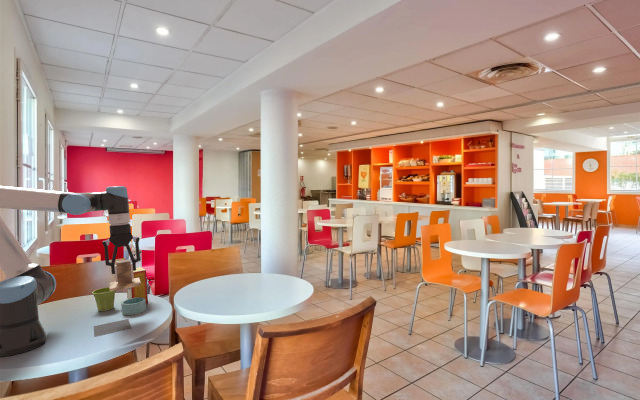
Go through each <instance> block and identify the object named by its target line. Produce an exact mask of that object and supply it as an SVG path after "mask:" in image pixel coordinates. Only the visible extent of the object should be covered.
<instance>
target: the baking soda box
mask: <svg viewBox="0 0 640 400" xmlns="http://www.w3.org/2000/svg"><path fill="white" fill-rule="evenodd" d="M133 275H134V278H139V279H140V282H141V286H136V287H131V288H126V297H127V299H131V298H137V297H138V298H145V301H146V304H149V300H148V299H149V298H148V297H149V296H148V281H147V278H148V277H147V270H146V269H145V268H143V267H142V266H139V267H137V266H136V271H133ZM127 299H126V300H127Z"/></svg>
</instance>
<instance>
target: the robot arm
mask: <svg viewBox="0 0 640 400" xmlns="http://www.w3.org/2000/svg"><path fill="white" fill-rule="evenodd" d="M127 189H128V188H127V187H126V186H124V185H119V186H118V185H114V186H107V187H106V188H105V191H101V192H100V191H99V192H98V191H97V192H69V191H67V192H66V191H59V190H47V189H46V190H45V189H34V188H25V187H15V186H3V185H0V209H10V210H23V211H36V212H47V213H48V212H50V213H62V214H68V215H74V216H80V215H83V214H86V213H91V212H103V211H107V216H108V223H109V238H108V239H106V240H103V241H102V242H101V244H102V245H103V247H104V261H105V262H104V263H105V266H109V267H111V268H110V269H111V270H110V271H111V275H115V281H116V282H118V278H117V267H116V261H117V260H116V259H117V254H118V249H119V248H122V247H125V248H126V250H127V253H128V255H129V259H130V261H131V262H130V264H131V275H132V280H133V279H134V275H133V271H136V268H137V266H136V263H137V262H140V261H141V253H140V241H141V239H140V237H139V236H133V235H132V226H131V224H130V222H131V215H130V214H131V213H130V203H129V195H128V194H129V193H128V190H127ZM132 240H133V243H134V248H135V256H136V258H135V257H134V254H133V251H132V249H131V247H130V243H131V242H132ZM110 243H111V244H112V245H113V246H114V247H113V252H112V256H111V257H112V258H111V262H110V258H109V256H110V255H109V245H110ZM0 269H1V271H2V272H3V274H5V277H4V279H3V280H1V281H0V357H8V356H9V357H10V356H14V355H19V354H23V353H26V352H29V351H31V350H34V349H36V348H39V347H40V346H42V345H43V344H45V343H46V342H47V333H46V331H45V329H44V327H43V325H42V323H41V321H40V315H39V305H40V304H42V303H43V302H46V301H47V300H48V299H49V298H50V297H51V296H52V295H53V294H54V292H55V290H56V287H57V281H56V278H55V276H54V275H53V274H52V273H50V272H49V271H46V270H44V268H42V266H41V264H39V263H36V262H33V261H32V260H31V259H30V257H29V256H28V254H27V253H26V251H25V250H24V248H23V247H22V246H21V244H20V243H19V241H18V240H17V238H16V237H15V235H14V234H13V233H12V231H11V229H10V228H9V227H8V225H7V224H6V222H5V220H4V219H3V217H2V216H1V215H0Z"/></svg>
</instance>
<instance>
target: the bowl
mask: <svg viewBox="0 0 640 400" xmlns="http://www.w3.org/2000/svg"><path fill="white" fill-rule="evenodd" d="M120 304H121V306H120V307H121V314H122V315H123V316H132V315H136V314H141V313H143V312H145V311H146V310H147V303H146V301H145V298H138V297H137V298H131V299H124V300H123V301H121V302H120Z"/></svg>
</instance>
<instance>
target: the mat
mask: <svg viewBox="0 0 640 400" xmlns="http://www.w3.org/2000/svg"><path fill="white" fill-rule="evenodd" d="M131 329H132V326H131V322H130V320H129V318H126V319H121V320H116V321H112V322H107V323H102V324H97V325H94V326H93V337H94V338H95V337H99V336H104V335H109V334H114V333H117V332H118V333H119V332H123V331H126V330H131Z"/></svg>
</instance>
